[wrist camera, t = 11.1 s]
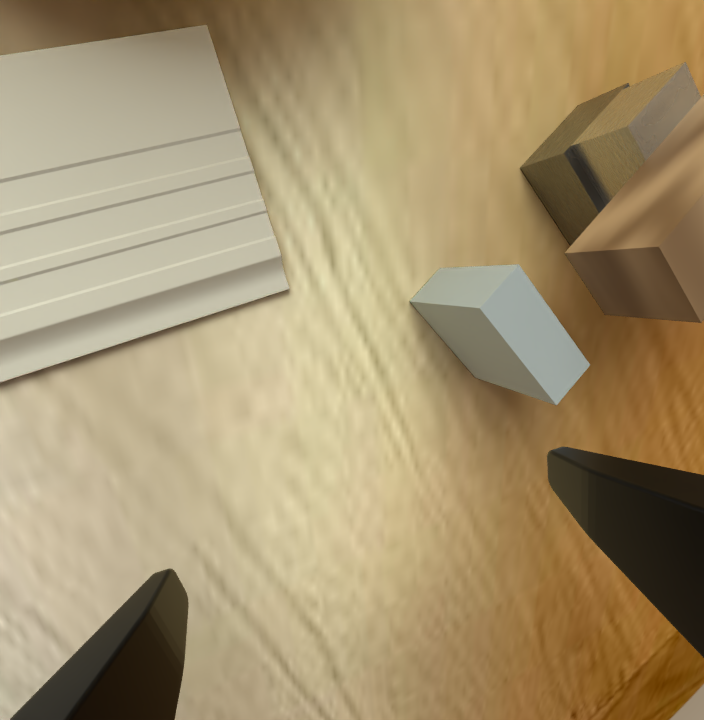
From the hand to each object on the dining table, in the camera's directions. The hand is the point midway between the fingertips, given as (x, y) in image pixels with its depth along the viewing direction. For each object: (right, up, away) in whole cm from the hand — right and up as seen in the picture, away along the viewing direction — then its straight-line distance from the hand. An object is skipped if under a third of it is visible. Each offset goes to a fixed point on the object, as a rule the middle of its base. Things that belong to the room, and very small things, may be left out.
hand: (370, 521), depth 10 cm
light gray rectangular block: (+5, +6, +14) cm, 16 cm away
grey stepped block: (+12, +13, +15) cm, 24 cm away
